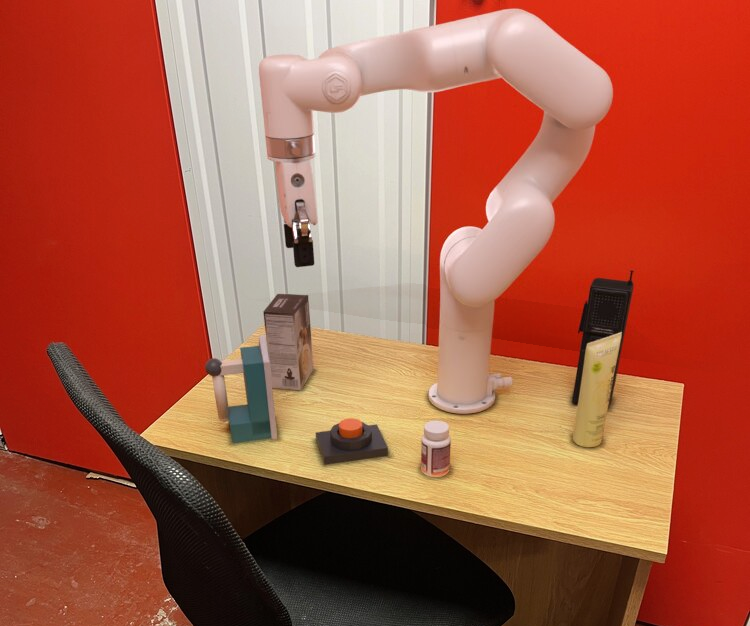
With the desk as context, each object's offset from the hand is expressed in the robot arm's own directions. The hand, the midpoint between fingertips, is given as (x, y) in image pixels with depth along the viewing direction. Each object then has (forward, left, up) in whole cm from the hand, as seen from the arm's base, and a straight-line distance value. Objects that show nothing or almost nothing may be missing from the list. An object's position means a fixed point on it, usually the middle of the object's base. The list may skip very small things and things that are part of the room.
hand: (299, 256), depth 130 cm
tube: (-44, +26, -28) cm, 58 cm away
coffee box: (+2, -10, -28) cm, 30 cm away
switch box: (-4, +18, -28) cm, 33 cm away
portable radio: (-51, +13, -28) cm, 60 cm away
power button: (-4, +18, -25) cm, 31 cm away
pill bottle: (-16, +28, -28) cm, 43 cm away
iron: (+8, +8, -19) cm, 22 cm away
